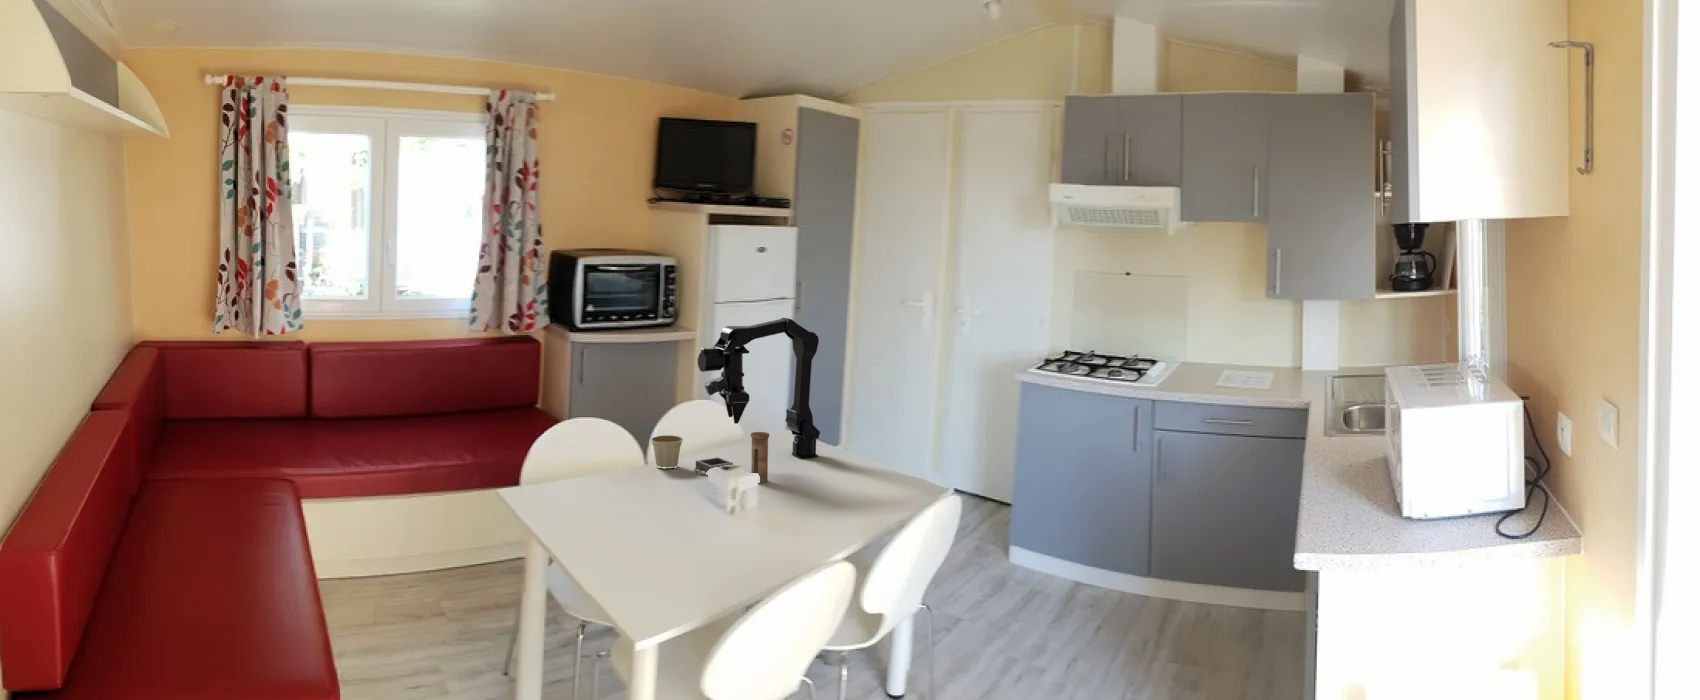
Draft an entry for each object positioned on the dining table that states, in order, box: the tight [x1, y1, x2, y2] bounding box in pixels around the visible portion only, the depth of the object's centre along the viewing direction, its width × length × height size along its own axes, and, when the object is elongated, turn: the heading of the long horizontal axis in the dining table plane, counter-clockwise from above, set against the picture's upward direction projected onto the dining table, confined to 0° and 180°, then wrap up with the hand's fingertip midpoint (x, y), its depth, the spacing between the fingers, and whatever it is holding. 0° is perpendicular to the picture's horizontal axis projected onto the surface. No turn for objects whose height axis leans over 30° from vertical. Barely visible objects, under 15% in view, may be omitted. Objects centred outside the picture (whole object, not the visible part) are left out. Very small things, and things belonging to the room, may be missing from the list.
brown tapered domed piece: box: [750, 431, 770, 484], centre depth 291 cm, size 5×5×14 cm
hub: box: [693, 456, 734, 476], centre depth 302 cm, size 12×12×3 cm
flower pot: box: [650, 434, 684, 467], centre depth 304 cm, size 9×9×9 cm
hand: (733, 420), depth 307 cm, fingers open, 9 cm apart
